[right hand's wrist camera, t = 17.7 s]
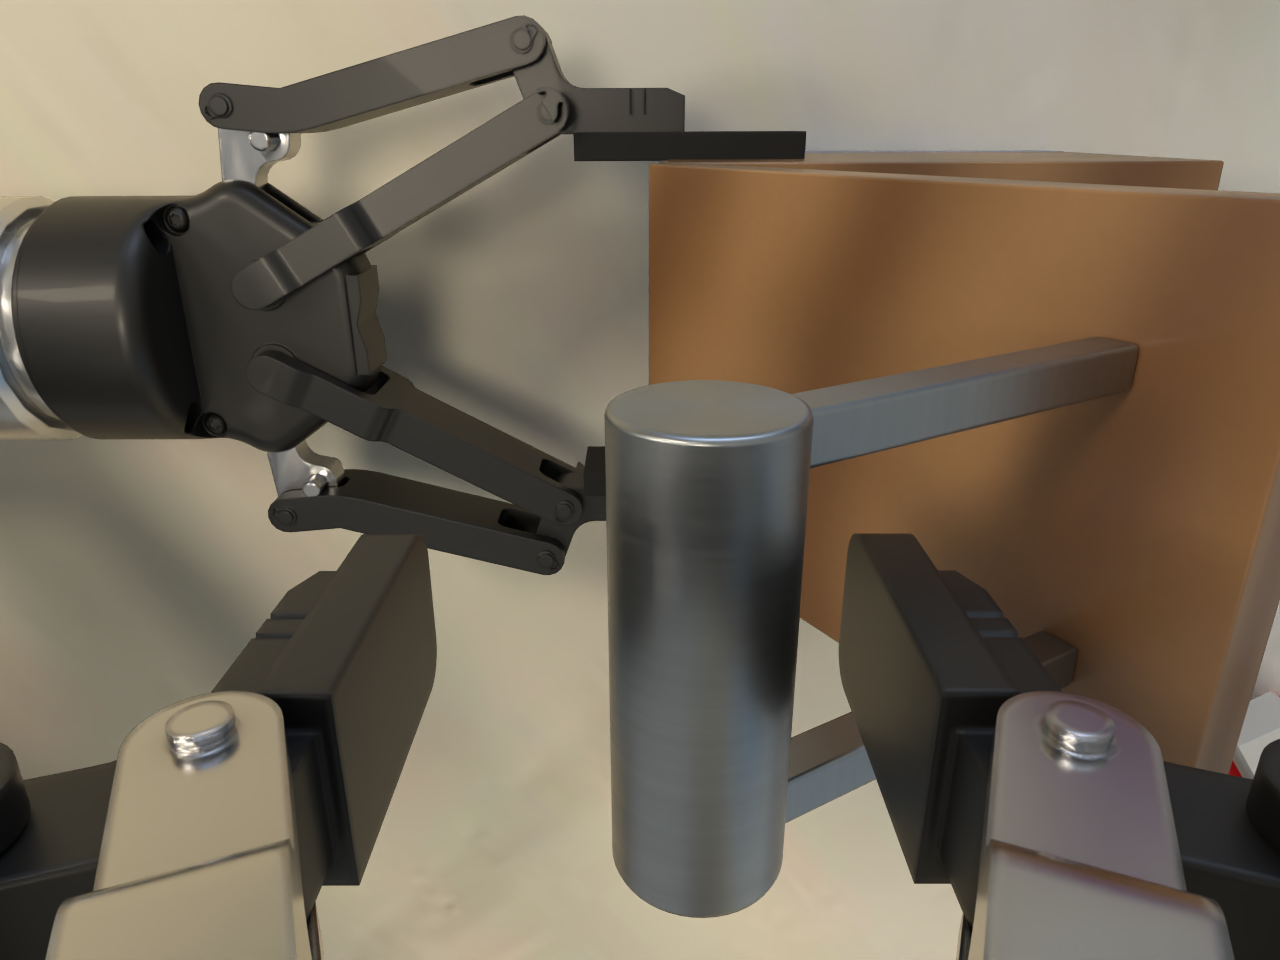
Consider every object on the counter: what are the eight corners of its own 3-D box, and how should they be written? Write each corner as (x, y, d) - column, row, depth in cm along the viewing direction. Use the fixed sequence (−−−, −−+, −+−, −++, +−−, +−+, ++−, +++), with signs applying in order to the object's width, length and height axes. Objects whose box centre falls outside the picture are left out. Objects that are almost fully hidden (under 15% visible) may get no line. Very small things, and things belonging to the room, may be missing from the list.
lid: (1398, 198, 11) (786, 255, 6) (1213, 830, 14) (736, 1163, 10) (690, 163, 23) (303, 172, 18) (684, 509, 26) (359, 591, 22)
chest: (1049, 150, 33) (1225, 160, 23) (1010, 402, 36) (1149, 504, 26) (660, 151, 33) (668, 162, 23) (659, 402, 36) (665, 505, 26)
